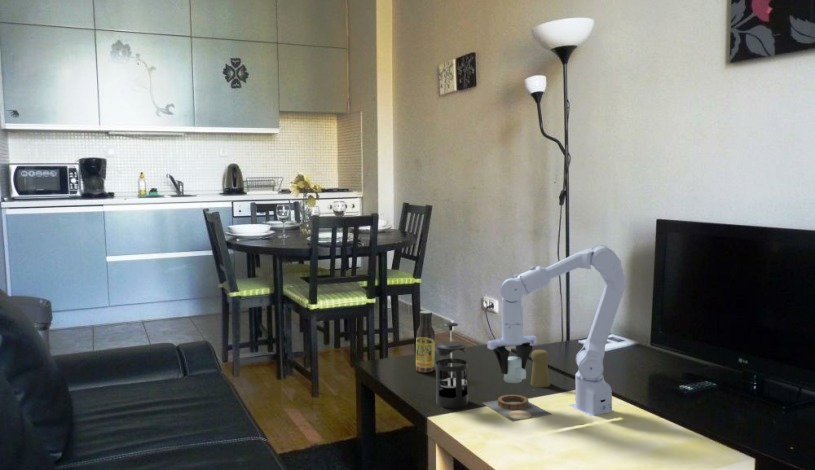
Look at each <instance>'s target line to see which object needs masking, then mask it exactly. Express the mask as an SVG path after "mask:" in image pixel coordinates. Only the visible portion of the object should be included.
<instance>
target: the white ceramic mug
mask: <svg viewBox="0 0 815 470" xmlns="http://www.w3.org/2000/svg"><path fill="white" fill-rule="evenodd" d="M525 379H527V370H526V368H525V369H523V368H522V359H521V358H520V357H517V356H515V355H513V356H512V355H511V356H508V373H507V374H503V381H504V382H505V383H508V384H518V383H521V382H522V380H525Z"/></svg>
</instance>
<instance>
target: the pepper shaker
mask: <svg viewBox="0 0 815 470" xmlns="http://www.w3.org/2000/svg"><path fill="white" fill-rule="evenodd" d="M530 357H531V360H532V368H531V377H530V386H532V387H536V388H548V387H550V386H551V379H550V372H549V368H548V367H549V366H548V361H549V359H550V355H549V352H548V351H547V350H545V349H534V350H532V351H531V353H530Z"/></svg>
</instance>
